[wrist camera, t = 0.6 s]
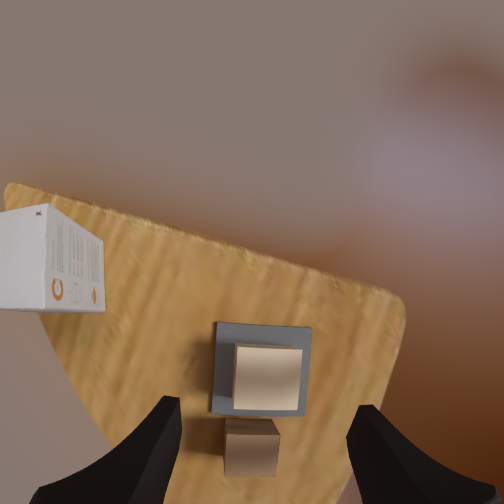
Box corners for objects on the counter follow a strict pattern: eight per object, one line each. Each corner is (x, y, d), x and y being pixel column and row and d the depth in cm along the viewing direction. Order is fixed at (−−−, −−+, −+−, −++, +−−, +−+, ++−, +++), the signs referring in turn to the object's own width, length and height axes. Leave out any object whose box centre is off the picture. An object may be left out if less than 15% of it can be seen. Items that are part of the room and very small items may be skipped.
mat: (303, 415, 30) (304, 416, 30) (211, 412, 29) (211, 413, 29) (311, 327, 32) (312, 327, 32) (217, 322, 31) (217, 322, 31)
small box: (58, 245, 31) (-7, 211, 18) (104, 240, 32) (49, 199, 19) (59, 314, 30) (-12, 309, 17) (106, 313, 30) (46, 309, 18)
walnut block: (267, 457, 29) (275, 477, 24) (223, 456, 28) (224, 476, 24) (271, 419, 30) (280, 435, 25) (225, 417, 29) (226, 434, 25)
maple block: (288, 399, 30) (297, 410, 26) (231, 397, 30) (233, 408, 26) (292, 345, 31) (302, 349, 27) (235, 342, 31) (237, 346, 27)
